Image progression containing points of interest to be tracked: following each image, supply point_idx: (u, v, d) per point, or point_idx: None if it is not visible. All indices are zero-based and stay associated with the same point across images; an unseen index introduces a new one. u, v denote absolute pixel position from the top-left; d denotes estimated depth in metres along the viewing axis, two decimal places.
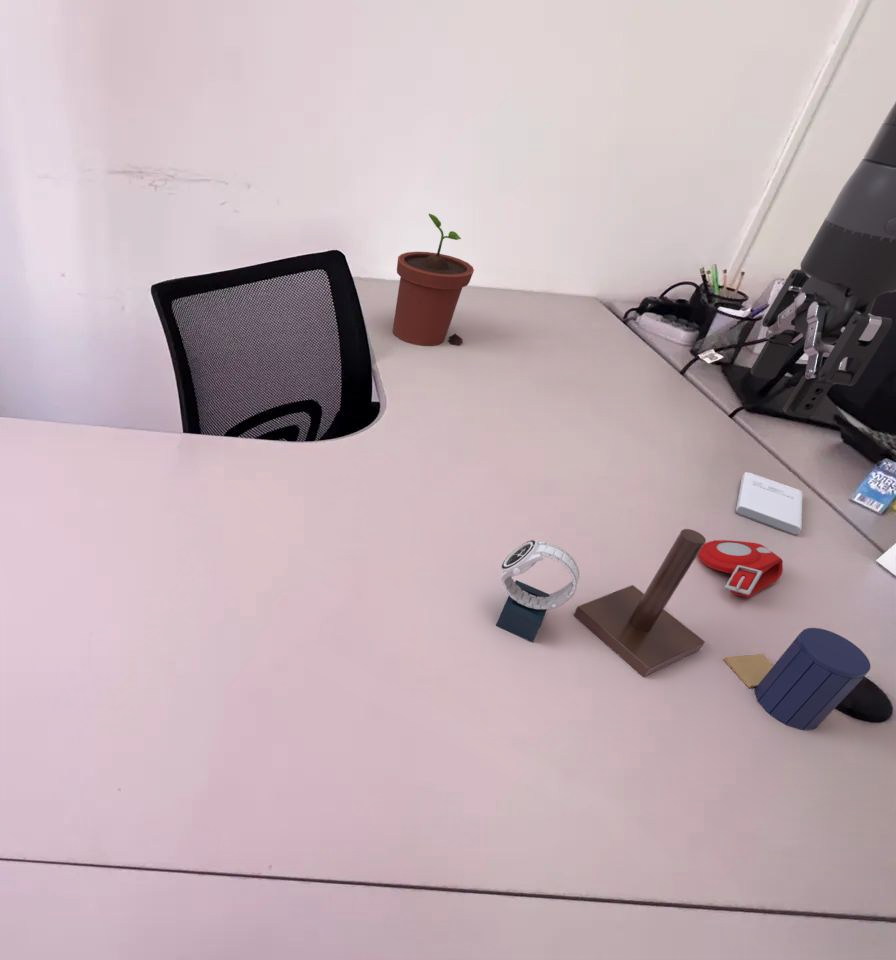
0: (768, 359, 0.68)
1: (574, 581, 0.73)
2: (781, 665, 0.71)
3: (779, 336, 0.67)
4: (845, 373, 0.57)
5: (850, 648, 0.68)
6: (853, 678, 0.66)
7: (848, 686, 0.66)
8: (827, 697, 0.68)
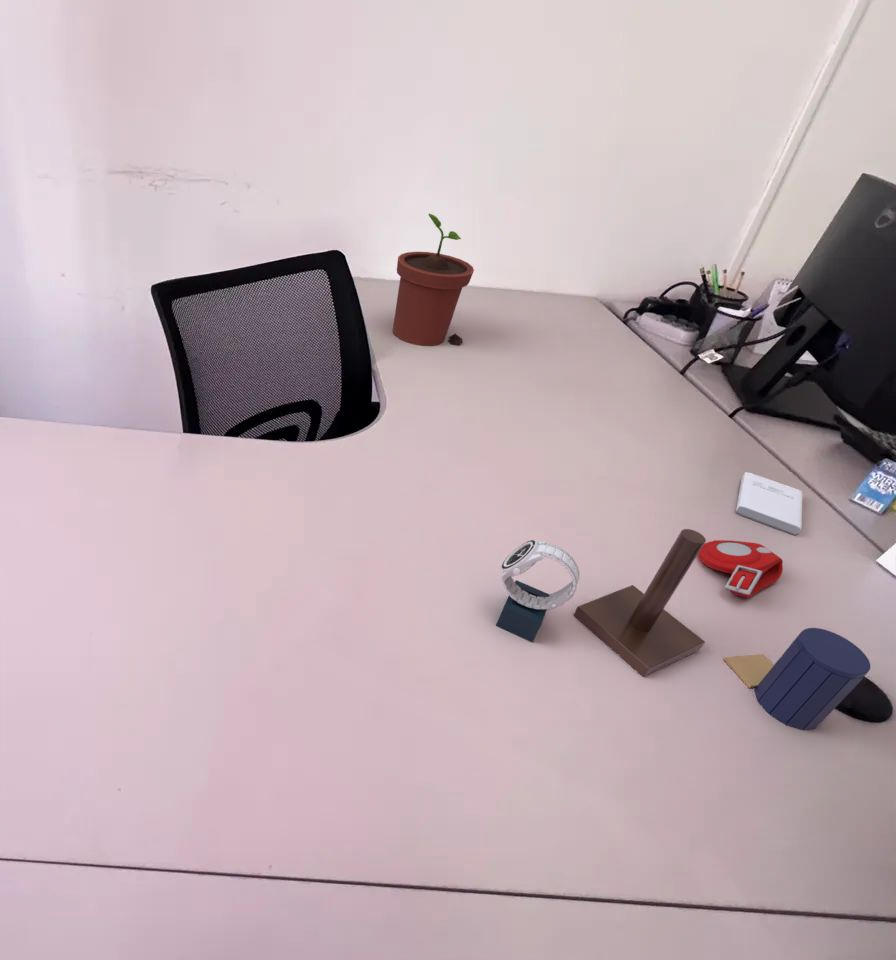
0: None
1: (574, 581, 0.73)
2: (781, 665, 0.71)
3: None
4: None
5: (850, 648, 0.68)
6: (853, 678, 0.66)
7: (848, 686, 0.66)
8: (827, 697, 0.68)
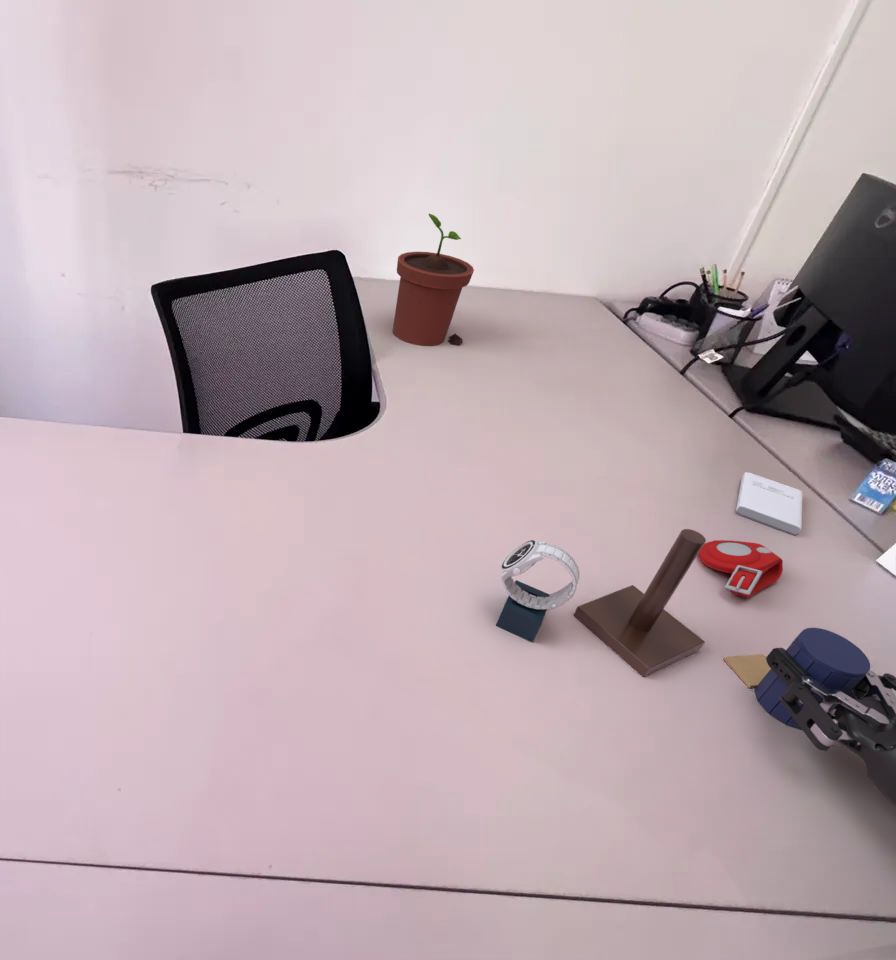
0: None
1: (574, 581, 0.73)
2: None
3: None
4: (891, 688, 0.68)
5: (850, 648, 0.68)
6: (853, 678, 0.66)
7: (848, 685, 0.66)
8: None
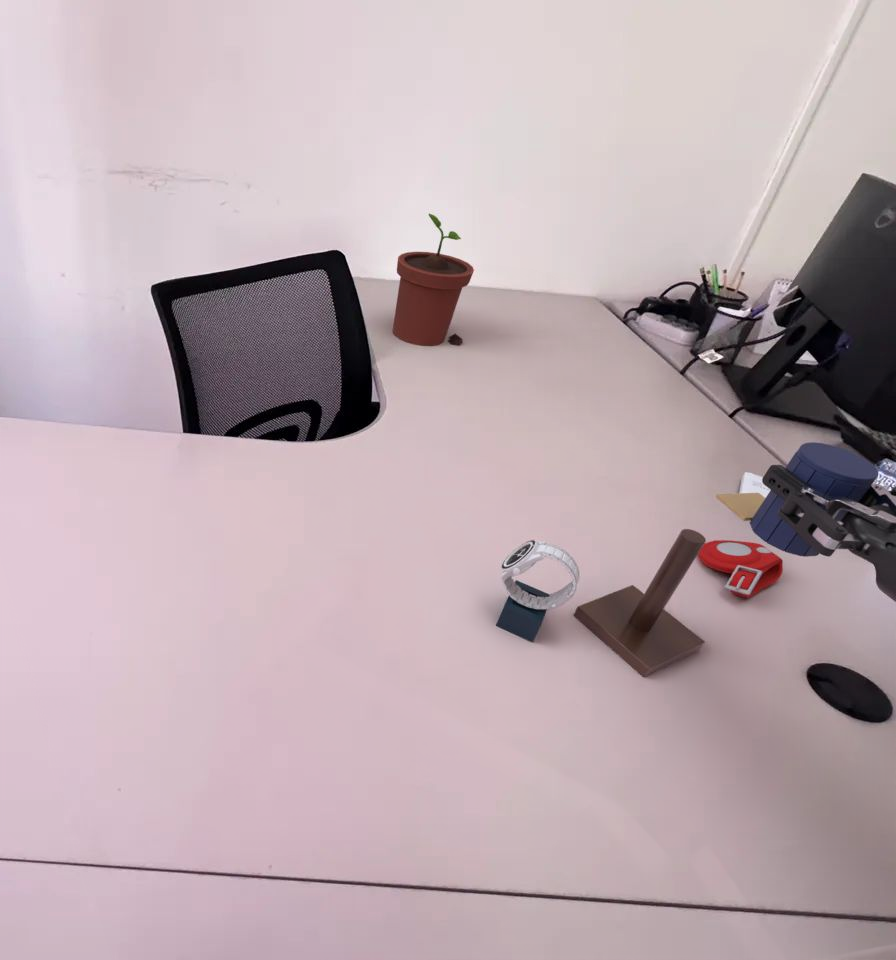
0: None
1: (574, 581, 0.73)
2: None
3: None
4: None
5: (855, 459, 0.61)
6: (859, 484, 0.59)
7: (854, 495, 0.59)
8: None
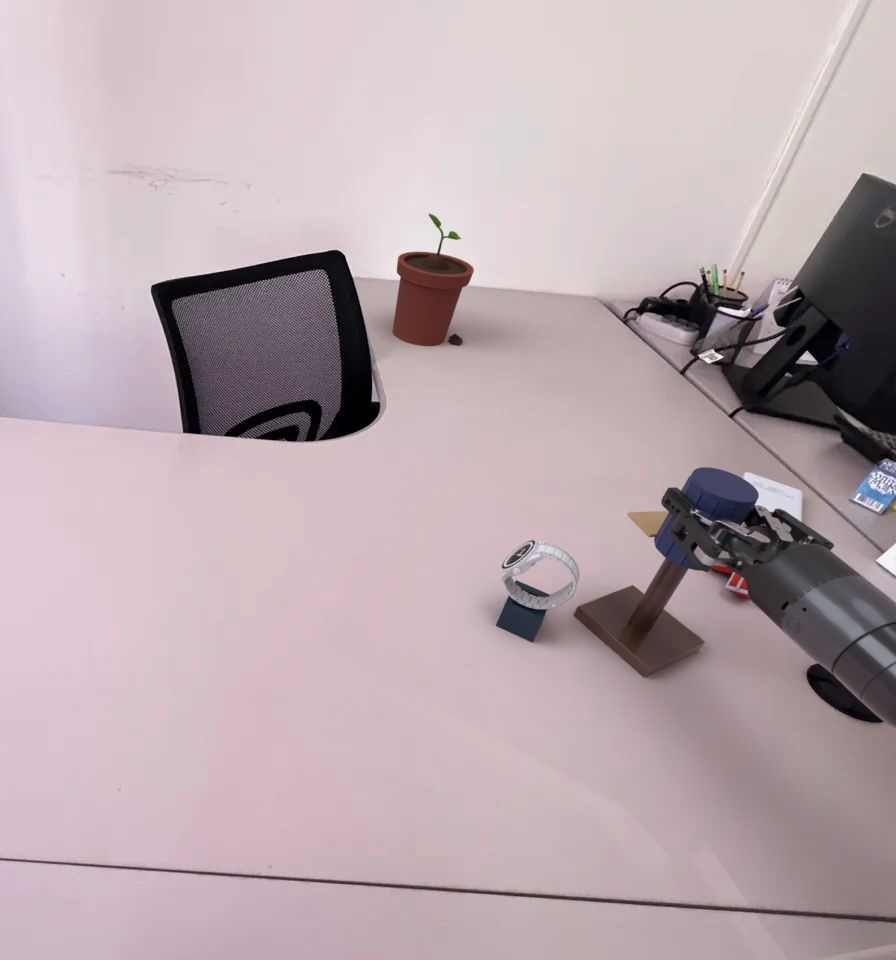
0: None
1: (574, 581, 0.73)
2: None
3: None
4: (782, 523, 0.68)
5: (741, 483, 0.68)
6: (740, 506, 0.65)
7: (736, 516, 0.66)
8: None
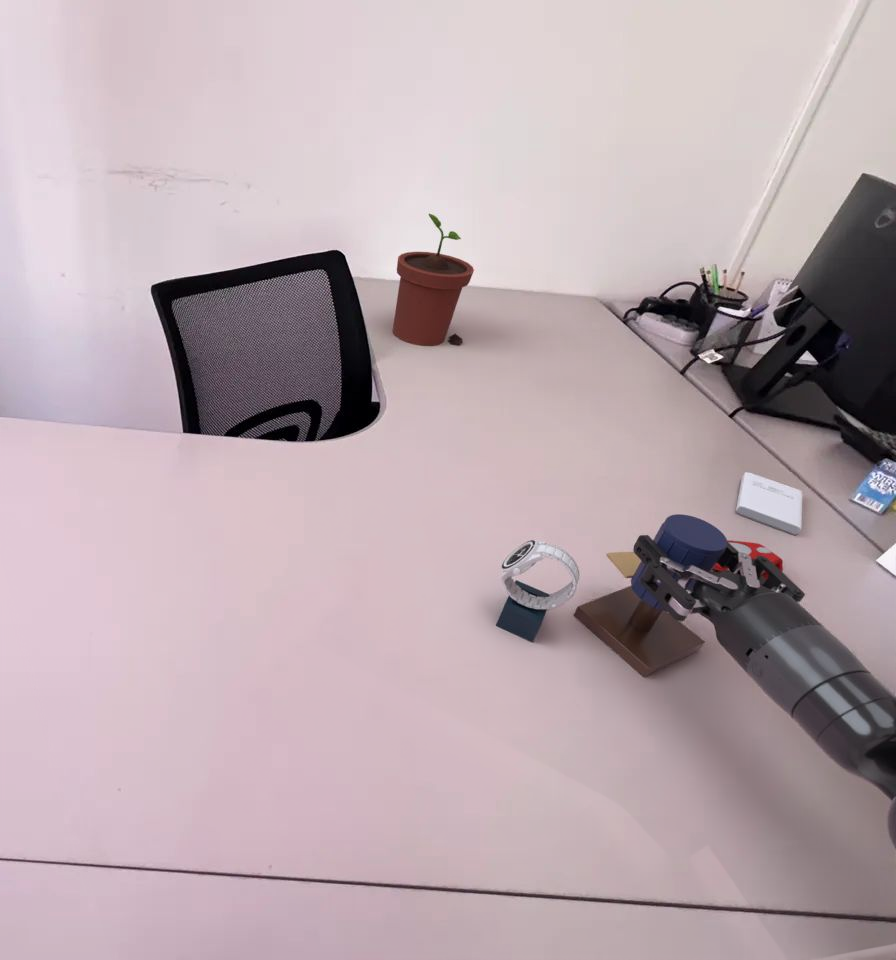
0: None
1: (574, 581, 0.73)
2: None
3: None
4: None
5: (711, 530, 0.71)
6: (709, 555, 0.69)
7: (706, 563, 0.70)
8: None
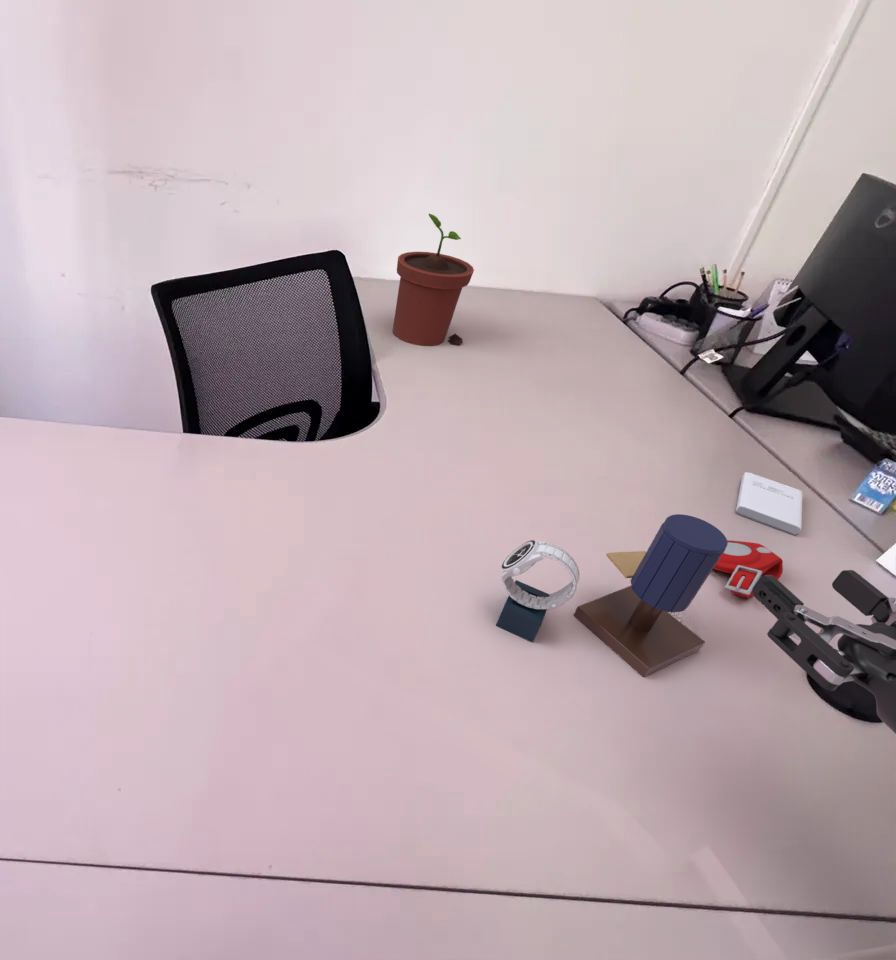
0: None
1: (574, 581, 0.73)
2: (650, 550, 0.74)
3: None
4: None
5: (711, 530, 0.71)
6: (709, 555, 0.69)
7: (706, 563, 0.70)
8: (688, 576, 0.71)
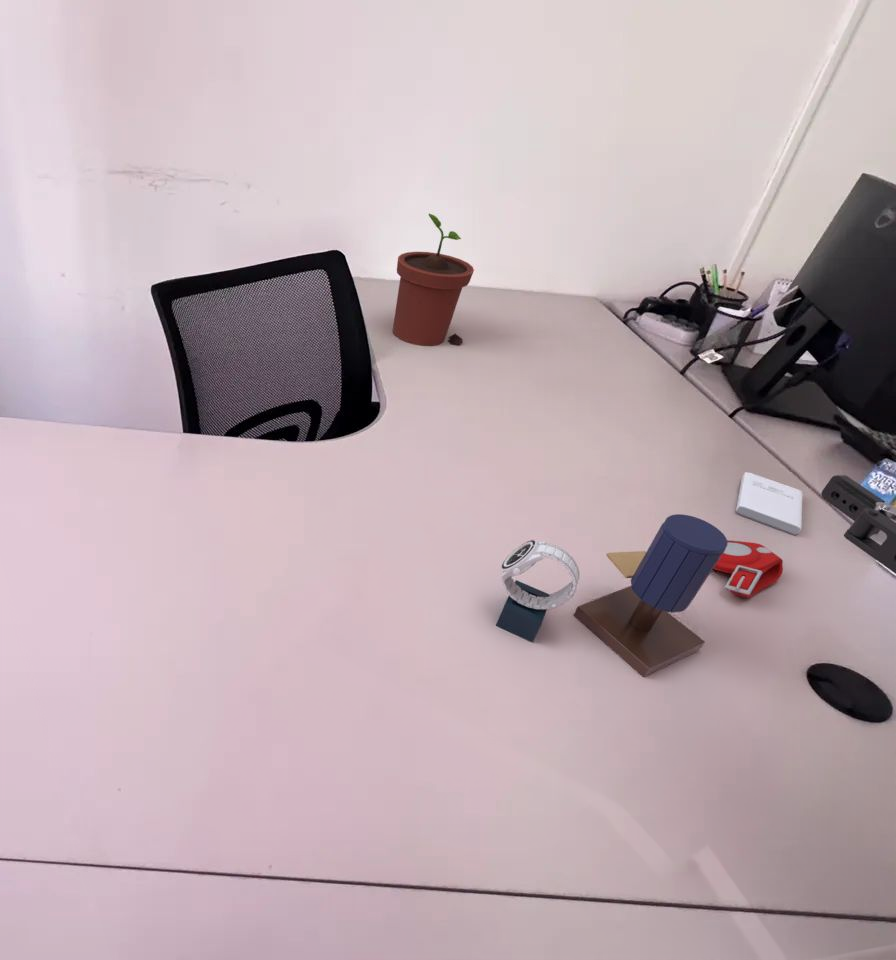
0: None
1: (574, 581, 0.73)
2: (650, 550, 0.74)
3: None
4: None
5: (711, 530, 0.71)
6: (709, 555, 0.69)
7: (706, 563, 0.70)
8: (688, 576, 0.71)
